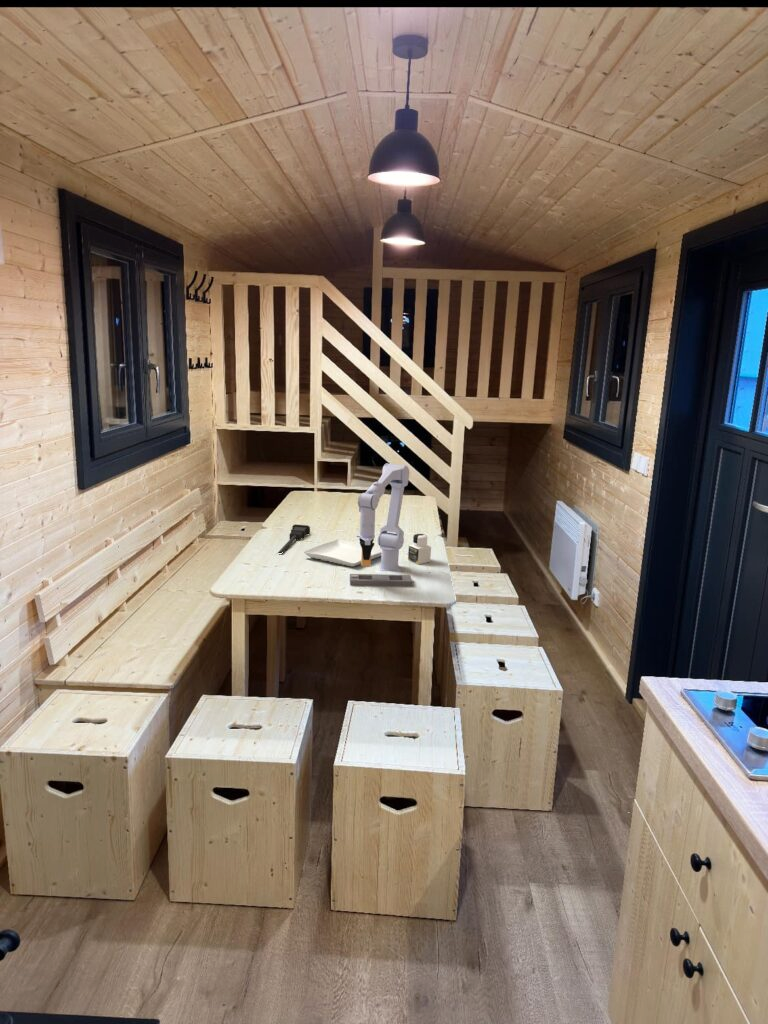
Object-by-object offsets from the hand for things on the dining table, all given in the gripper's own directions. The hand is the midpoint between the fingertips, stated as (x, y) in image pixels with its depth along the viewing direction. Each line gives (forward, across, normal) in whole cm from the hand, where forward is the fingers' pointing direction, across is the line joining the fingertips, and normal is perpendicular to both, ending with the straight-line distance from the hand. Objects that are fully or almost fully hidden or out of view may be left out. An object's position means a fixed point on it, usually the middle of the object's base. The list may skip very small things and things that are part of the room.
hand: (366, 558), depth 275 cm
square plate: (+11, -35, -7) cm, 37 cm away
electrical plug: (+11, -57, -31) cm, 66 cm away
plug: (+3, 0, 0) cm, 3 cm away
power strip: (+10, 0, +6) cm, 12 cm away
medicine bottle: (+11, -31, +25) cm, 41 cm away
